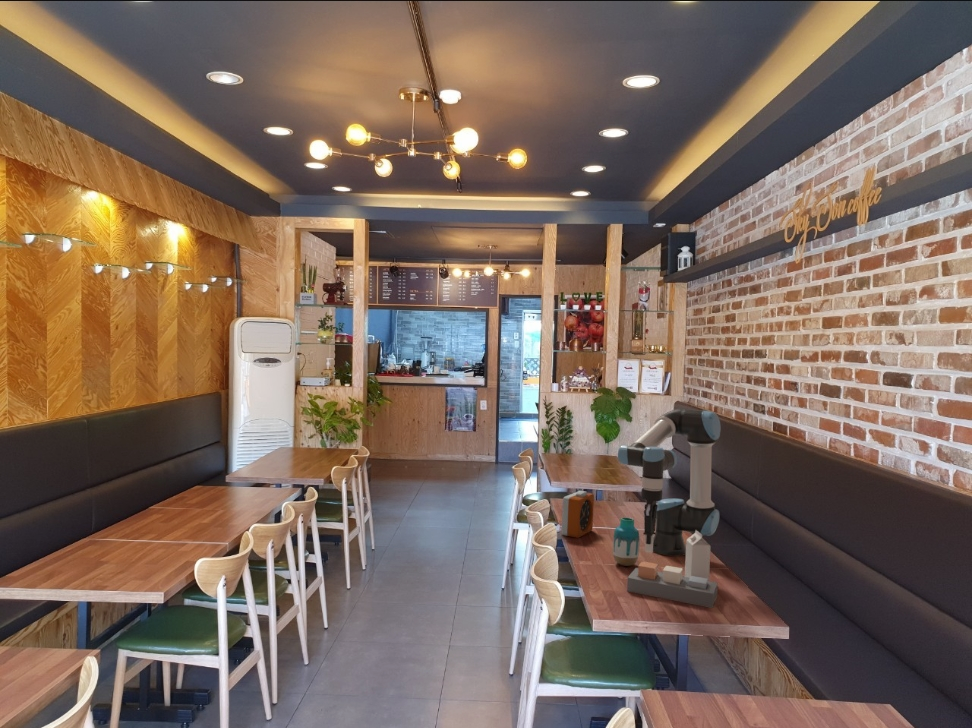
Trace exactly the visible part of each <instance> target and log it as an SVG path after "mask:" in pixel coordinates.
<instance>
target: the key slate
mask: <svg viewBox="0 0 972 728" xmlns="http://www.w3.org/2000/svg"><path fill="white" fill-rule="evenodd" d="M688 586H691V587H696V588H701V589H707V587H708V579H706V578H701V577H695V576H691V577H690V579H689V580H688Z"/></svg>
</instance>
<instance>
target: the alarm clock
mask: <svg viewBox="0 0 972 728" xmlns="http://www.w3.org/2000/svg"><path fill="white" fill-rule="evenodd" d="M594 500H595V496H594V493H591V492H588V491H584V490H578V491H576V492H573V493H571V494H568V495H565V496H564V497H563V498H562V512H561V513H562V515H561V535H563V536H566V537H570V538H571V537H572V538H576V539H579V538H581V537H582V536H584V535H586V534H588V533H590V532H592V530H593V524H594V507H595V506H594V505H595V504H594V503H595V502H594Z"/></svg>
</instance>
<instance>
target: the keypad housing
mask: <svg viewBox="0 0 972 728" xmlns="http://www.w3.org/2000/svg"><path fill="white" fill-rule="evenodd" d="M689 579H690V577H685V575H682V582H681V584H675V583H669V582H664V581H663V571H658V576H657V578H656V579H655V580H653V579H648V578H642V577H638V567H635V568H634V569H633V571H631V573H630V574H629V576H627V581H626V582H627V586H626V591H627V592H628V593H629V592H630V593H634V594H639V595H645V596H650V597H655V598H660V599H665V600H669V601H675V602H680V603H686V604H689V605H690V604H691V605H695V606H699V607H700V606H701V607H706V608H711V609H713V608H714V606H715V603H716V600H717V597H718V582H716V581H711V580H709V581H708V587H707V589H701V588H696V587H691V586H688V580H689Z"/></svg>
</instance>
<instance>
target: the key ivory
mask: <svg viewBox="0 0 972 728" xmlns="http://www.w3.org/2000/svg"><path fill="white" fill-rule="evenodd" d="M683 571H684V568H682V567H676V566H670V565H665V567H664V568H663V570H662V573H663V581H664V582H669V583H675V584H681V582H682V576H684V575H683V573H684V572H683Z"/></svg>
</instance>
